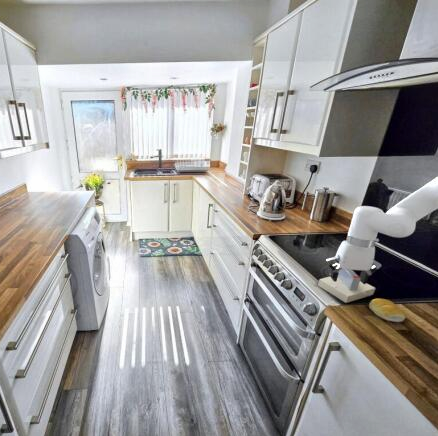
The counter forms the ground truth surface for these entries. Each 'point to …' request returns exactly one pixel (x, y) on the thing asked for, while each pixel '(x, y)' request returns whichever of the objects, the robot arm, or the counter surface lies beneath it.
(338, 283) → the cream flat tabbed slab
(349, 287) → the grey rectangular block
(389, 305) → the bread roll
